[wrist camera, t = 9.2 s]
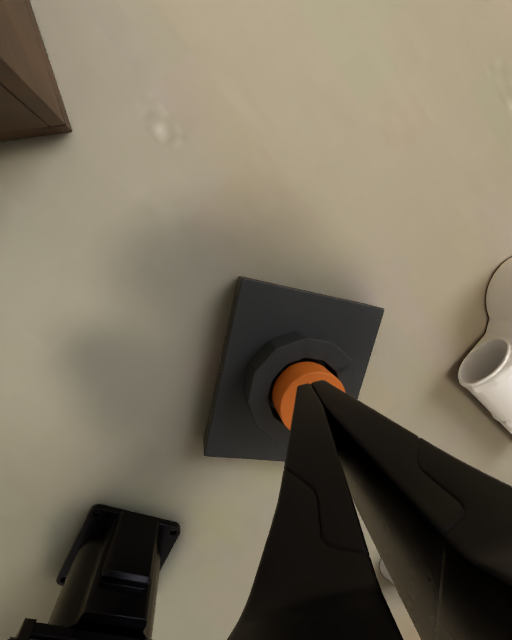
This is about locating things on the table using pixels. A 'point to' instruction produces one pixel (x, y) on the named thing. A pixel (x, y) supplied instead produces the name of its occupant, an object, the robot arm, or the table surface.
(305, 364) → the button
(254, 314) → the button block
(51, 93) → the tea box
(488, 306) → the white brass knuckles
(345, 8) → the table surface
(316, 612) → the robot arm
